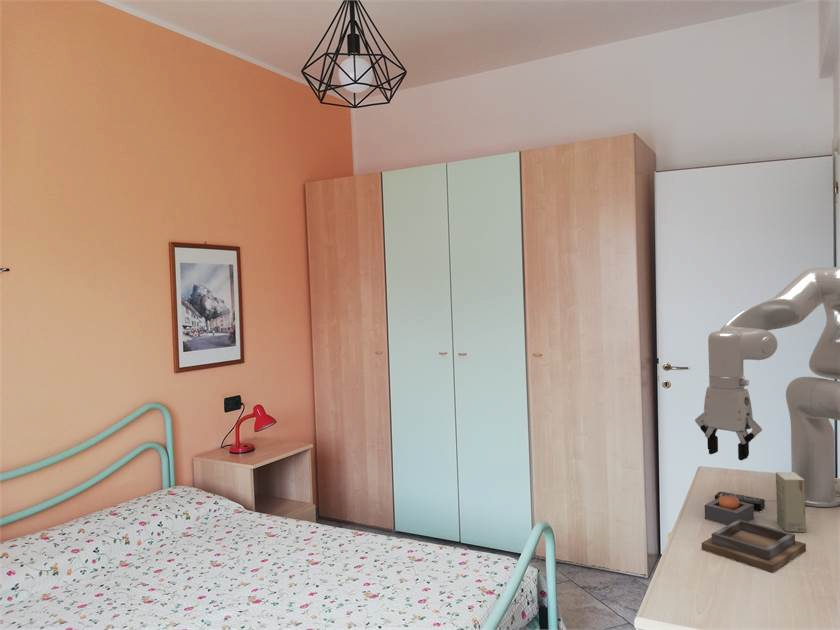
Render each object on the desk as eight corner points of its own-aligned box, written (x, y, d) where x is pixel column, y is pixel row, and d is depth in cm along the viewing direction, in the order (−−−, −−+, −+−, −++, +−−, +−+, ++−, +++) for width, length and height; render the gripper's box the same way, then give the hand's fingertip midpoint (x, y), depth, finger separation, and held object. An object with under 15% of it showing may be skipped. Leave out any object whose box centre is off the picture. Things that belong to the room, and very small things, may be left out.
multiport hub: (760, 513, 160) (760, 504, 160) (714, 504, 168) (713, 495, 168) (765, 508, 164) (765, 499, 164) (719, 499, 171) (719, 491, 171)
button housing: (721, 510, 163) (721, 496, 163) (754, 518, 156) (753, 504, 156) (704, 518, 158) (704, 504, 158) (737, 527, 152) (737, 513, 151)
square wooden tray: (736, 530, 150) (735, 515, 150) (805, 550, 138) (805, 534, 138) (701, 549, 141) (701, 533, 141) (772, 572, 129) (772, 555, 129)
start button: (724, 504, 160) (724, 494, 160) (742, 508, 157) (742, 498, 156) (715, 508, 157) (715, 498, 157) (733, 513, 154) (733, 503, 154)
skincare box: (806, 532, 147) (805, 480, 146) (785, 532, 148) (784, 479, 147) (796, 522, 153) (795, 471, 153) (776, 521, 154) (775, 471, 153)
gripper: (771, 384, 150) (772, 459, 152) (700, 377, 164) (702, 446, 165) (755, 389, 146) (757, 466, 147) (684, 381, 160) (686, 452, 161)
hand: (728, 455), depth 156 cm, fingers open, 6 cm apart
